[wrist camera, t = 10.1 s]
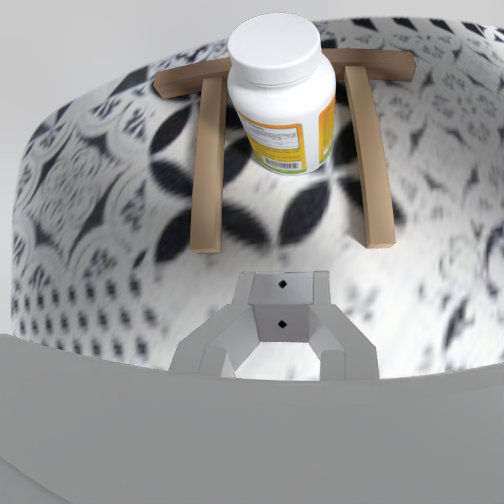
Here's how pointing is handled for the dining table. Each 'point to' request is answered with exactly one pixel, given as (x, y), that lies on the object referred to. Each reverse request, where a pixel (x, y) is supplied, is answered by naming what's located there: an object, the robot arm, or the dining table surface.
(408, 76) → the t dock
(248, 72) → the supplement bottle
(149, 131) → the dining table surface
